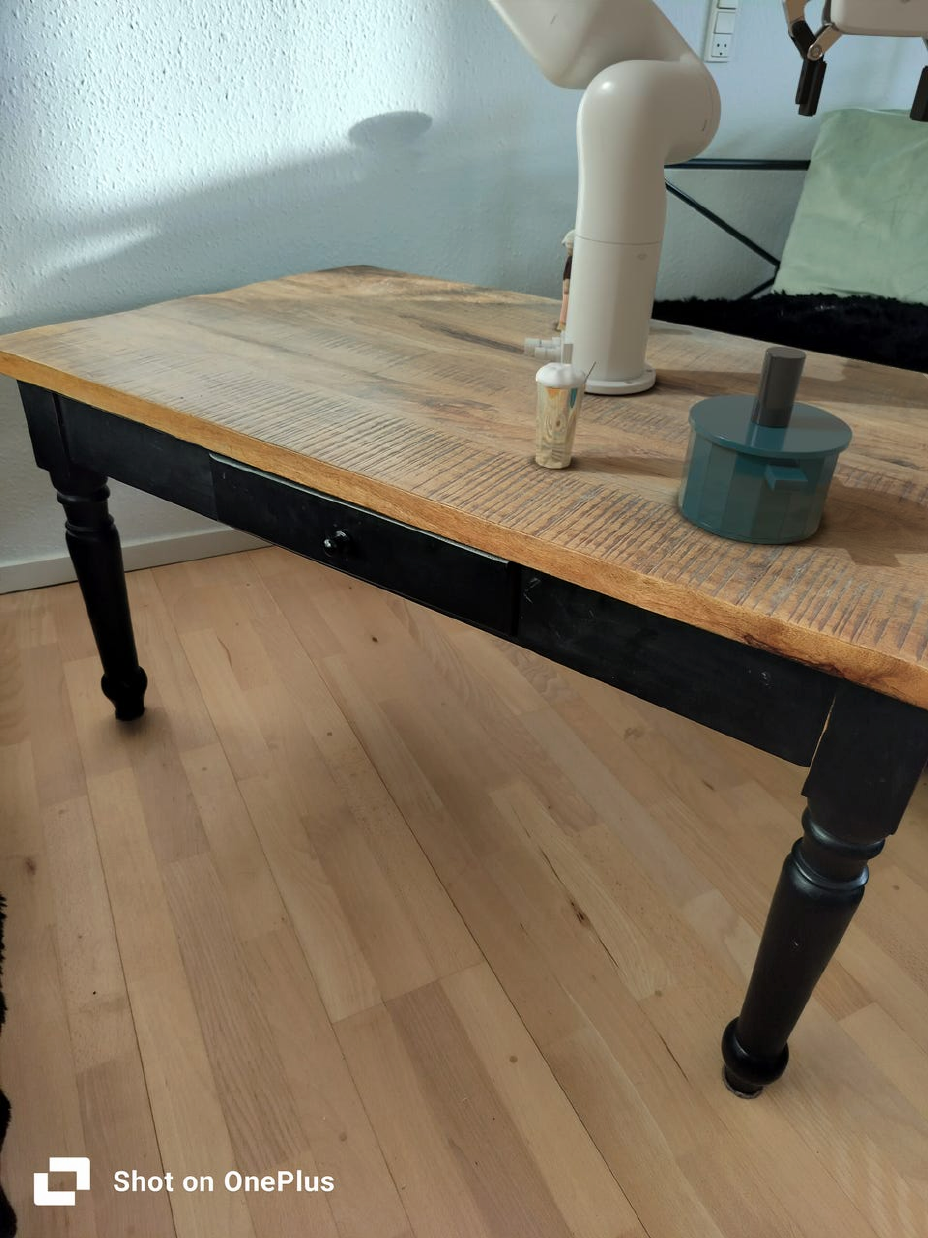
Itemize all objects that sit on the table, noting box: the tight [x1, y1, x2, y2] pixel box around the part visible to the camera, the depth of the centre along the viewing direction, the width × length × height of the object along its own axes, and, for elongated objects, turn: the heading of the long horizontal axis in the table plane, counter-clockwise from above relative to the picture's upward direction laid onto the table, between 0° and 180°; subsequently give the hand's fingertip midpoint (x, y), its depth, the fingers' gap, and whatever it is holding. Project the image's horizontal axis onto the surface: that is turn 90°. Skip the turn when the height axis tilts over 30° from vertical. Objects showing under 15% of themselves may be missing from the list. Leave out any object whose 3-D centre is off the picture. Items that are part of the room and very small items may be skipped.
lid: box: [688, 346, 854, 459], centre depth 68 cm, size 13×13×7 cm
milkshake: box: [535, 362, 596, 470], centre depth 78 cm, size 4×5×10 cm
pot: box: [677, 426, 841, 545], centre depth 72 cm, size 12×17×8 cm
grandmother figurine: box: [556, 228, 575, 332], centre depth 117 cm, size 8×4×13 cm, turn 179°
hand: (862, 117), depth 75 cm, fingers open, 9 cm apart
